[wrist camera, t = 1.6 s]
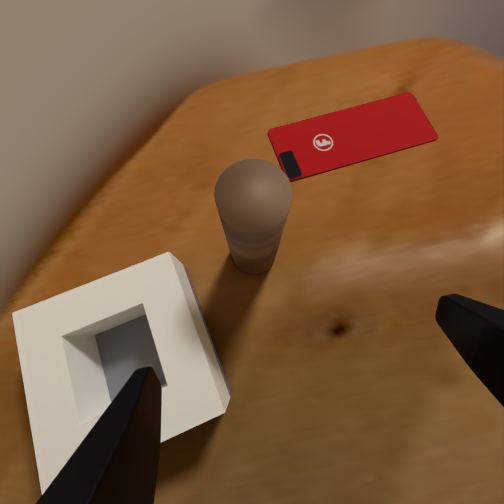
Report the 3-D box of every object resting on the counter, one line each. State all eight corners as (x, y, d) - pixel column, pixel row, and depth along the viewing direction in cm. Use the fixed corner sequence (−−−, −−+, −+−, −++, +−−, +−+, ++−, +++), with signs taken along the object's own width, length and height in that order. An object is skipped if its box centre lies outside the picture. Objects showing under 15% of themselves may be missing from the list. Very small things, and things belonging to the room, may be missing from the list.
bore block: (231, 394, 19) (225, 412, 15) (92, 457, 18) (42, 497, 14) (185, 267, 22) (169, 251, 17) (62, 316, 21) (12, 313, 16)
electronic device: (408, 95, 27) (266, 133, 26) (411, 90, 26) (266, 129, 25) (436, 142, 25) (286, 185, 24) (440, 138, 25) (287, 181, 24)
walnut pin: (282, 264, 22) (305, 211, 12) (241, 281, 21) (231, 241, 12) (264, 226, 23) (273, 149, 13) (225, 241, 22) (203, 174, 13)
